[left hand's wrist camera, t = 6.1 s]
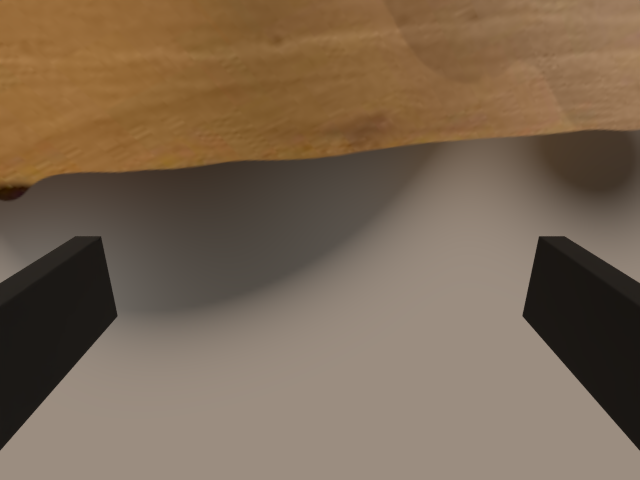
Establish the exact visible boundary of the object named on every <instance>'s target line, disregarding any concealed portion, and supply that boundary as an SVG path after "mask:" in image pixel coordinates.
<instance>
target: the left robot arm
mask: <svg viewBox="0 0 640 480" xmlns="http://www.w3.org/2000/svg"><path fill="white" fill-rule="evenodd" d="M116 317H117V311H116V306H115V302H114V297H113V292H112V287H111V283H110V278H109V273H108V268H107V263H106V259H105V254H104V249H103V244H102V239H101V236H75V237H74V238H72V239H70V240H69V241H67V242H66V243H64V244H62V245H61V246H59V247H58V248H56V249H54V250H53V251H51V252H50V253H48V254H46V255H45V256H43V257H42V258H40V259H38V260H37V261H35V262H33V263H32V264H30V265H29V266H27V267H26V268H24V269H22V270H21V271H19V272H17V273H16V274H14V275H13V276H11V277H9V278H8V279H6V280H5V281H3V282H1V283H0V450H1V449H2V448H3V447H4V446H5V444H6V443H7V442H8V441H9V440H10V439H11V438H12V436H13V435H14V434H15V433H16V432H17V431H18V430H19V428H20V427H21V426H22V425H23V424H24V423H25V421H26V420H27V419H28V418H29V417H30V416H31V415H32V413H33V412H34V411H35V410H36V409H37V408H38V407H39V405H40V404H41V403H42V402H43V401H44V400H45V399H46V397H47V396H48V395H49V394H50V393H51V392H52V391H53V389H54V388H55V387H56V386H57V385H58V384H59V383H60V381H61V380H62V379H63V378H64V377H65V376H66V375H67V373H68V372H69V371H70V370H71V369H72V368H73V367H74V365H75V364H76V363H77V362H78V361H79V360H80V358H81V357H82V356H83V355H84V354H85V353H86V352H87V350H88V349H89V348H90V347H91V346H92V345H93V344H94V342H95V341H96V340H97V339H98V338H99V337H100V336H101V334H102V333H103V332H104V331H105V330H106V329H107V328H108V326H109V325H110V324H111V323H112V322H113V321H114V320H115V318H116ZM523 317H524V318H525V319H526V321H527V322H528V323H529V324H530V325H531V326H532V328H533V329H534V330H535V331H536V332H537V333H538V334H539V336H540V337H541V338H542V339H543V340H544V341H545V342H546V344H547V345H548V346H549V347H550V348H551V349H552V350H553V352H554V353H555V354H556V355H557V356H558V357H559V358H560V360H561V361H562V362H563V363H564V364H565V365H566V367H567V368H568V369H569V370H570V371H571V372H572V373H573V375H574V376H575V377H576V378H577V379H578V380H579V381H580V383H581V384H582V385H583V386H584V387H585V388H586V389H587V391H588V392H589V393H590V394H591V395H592V396H593V397H594V399H595V400H596V401H597V402H598V403H599V404H600V405H601V407H602V408H603V409H604V410H605V411H606V412H607V413H608V415H609V416H610V417H611V418H612V419H613V420H614V422H615V423H616V424H617V425H618V426H619V427H620V428H621V429H622V431H623V432H624V433H625V434H626V435H627V436H628V438H629V439H630V440H631V441H632V442H633V443H634V444H635V446H636V447H637V448H638V449H639V450H640V283H639V282H637V281H635V280H634V279H632V278H631V277H629V276H627V275H626V274H624V273H623V272H621V271H619V270H618V269H616V268H615V267H613V266H611V265H610V264H608V263H606V262H605V261H603V260H602V259H600V258H598V257H597V256H595V255H594V254H592V253H590V252H589V251H587V250H586V249H584V248H582V247H581V246H579V245H578V244H576V243H574V242H573V241H571V240H570V239H568V238H566V237H565V236H540V237H539V239H538V244H537V249H536V254H535V258H534V263H533V268H532V273H531V278H530V282H529V287H528V292H527V297H526V301H525V306H524V311H523Z"/></svg>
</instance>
